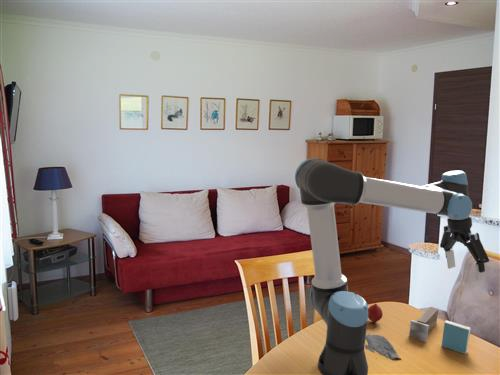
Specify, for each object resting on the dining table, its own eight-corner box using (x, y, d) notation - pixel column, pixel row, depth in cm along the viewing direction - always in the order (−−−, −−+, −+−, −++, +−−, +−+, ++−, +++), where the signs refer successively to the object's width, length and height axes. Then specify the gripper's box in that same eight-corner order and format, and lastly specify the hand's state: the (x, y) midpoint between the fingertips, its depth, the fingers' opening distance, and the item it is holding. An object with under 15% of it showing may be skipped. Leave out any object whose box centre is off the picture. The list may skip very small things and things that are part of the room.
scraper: (409, 336, 163) (410, 320, 162) (424, 319, 177) (426, 305, 176) (425, 341, 159) (427, 326, 158) (440, 324, 173) (442, 310, 172)
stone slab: (353, 330, 162) (379, 328, 164) (353, 335, 163) (379, 333, 164) (374, 359, 145) (403, 356, 146) (373, 364, 145) (402, 362, 147)
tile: (441, 346, 156) (444, 322, 155) (442, 343, 158) (446, 320, 157) (465, 354, 152) (469, 330, 150) (467, 352, 153) (470, 327, 152)
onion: (363, 319, 174) (365, 300, 172) (375, 318, 175) (377, 299, 174) (371, 326, 168) (373, 306, 167) (384, 325, 170) (386, 305, 169)
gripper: (497, 221, 140) (503, 282, 145) (442, 206, 164) (449, 259, 168) (478, 227, 139) (485, 289, 143) (425, 211, 162) (432, 265, 167)
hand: (465, 273), depth 156 cm, fingers open, 13 cm apart
